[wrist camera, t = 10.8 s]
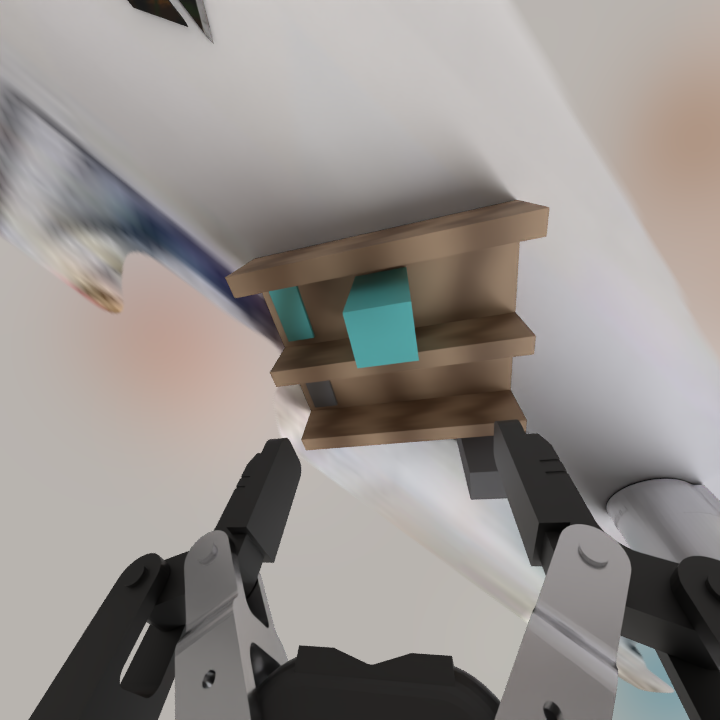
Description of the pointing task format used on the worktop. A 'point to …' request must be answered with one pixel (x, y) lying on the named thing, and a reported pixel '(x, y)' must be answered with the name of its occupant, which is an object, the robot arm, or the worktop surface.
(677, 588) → the robot arm
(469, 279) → the wooden bookshelf
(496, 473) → the charcoal plug
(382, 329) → the teal plug
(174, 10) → the black bumpy piece
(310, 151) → the worktop surface
